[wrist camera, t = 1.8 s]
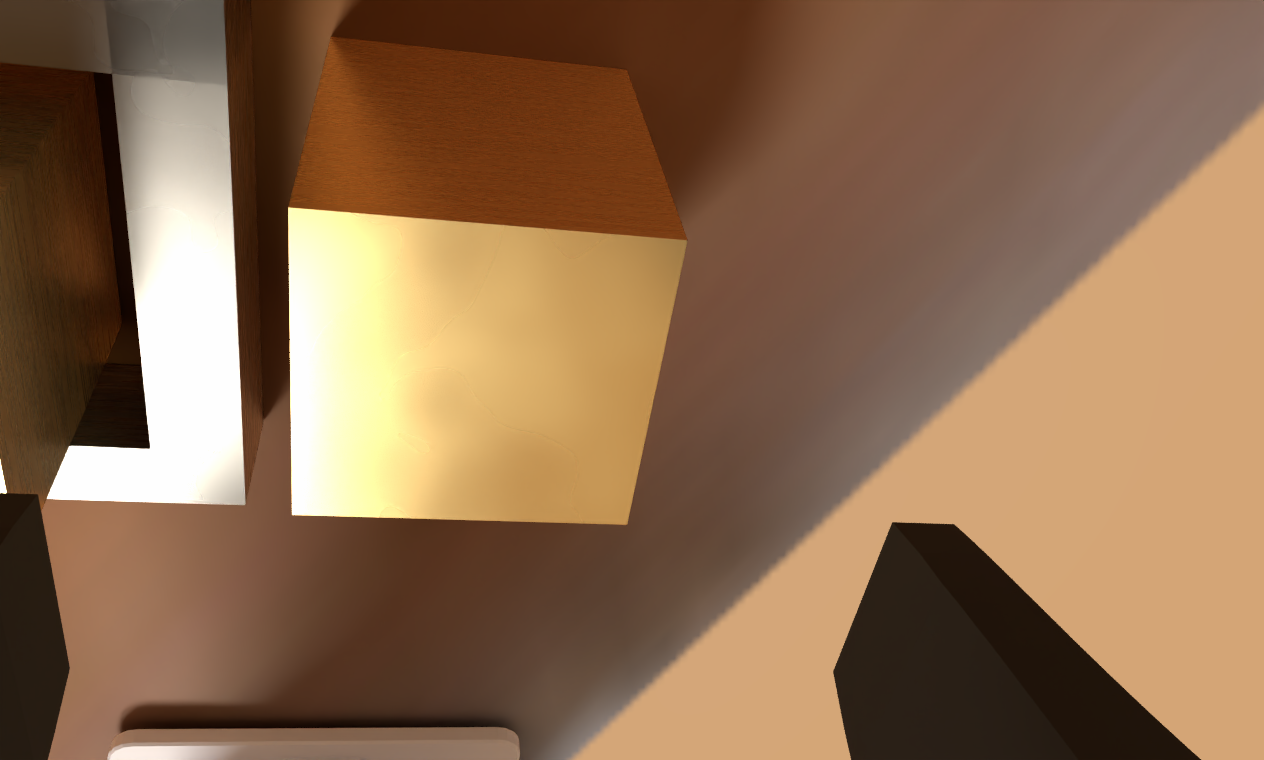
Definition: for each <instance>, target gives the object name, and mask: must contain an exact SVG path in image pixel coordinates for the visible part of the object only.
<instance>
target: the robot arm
mask: <svg viewBox="0 0 1264 760" xmlns="http://www.w3.org/2000/svg"><path fill="white" fill-rule="evenodd" d="M69 669H70V667H69V661H68V656H67V650H66V645H65V640H64V634H63V629H62V623H61V618H60V612H59V607H58V601H57V596H56V590H55V585H54V579H53V574H52V568H51V563H50V557H49V552H48V546H47V541H46V535H45V530H44V524H43V519H42V513H41V508H40V502H39V497H38V494H18V493H0V760H48V756H49V752H50V749H51V745H52V741H53V737H54V733H55V729H56V724H57V720H58V716H59V712H60V707H61V703H62V699H63V695H64V690H65V686H66V682H67V678H68V674H69ZM833 673H834V677H835V683H836V688H837V694H838V698H839V704H840V709H841V714H842V719H843V725H844V730H845V734H846V739H847V743H848V747H849V752H850V756H851V760H1201V759H1200V758H1199V757H1197V756H1196V755H1195V754H1194V753H1193V752H1192V751H1191V750H1190V749H1188V748H1187V747H1186V746H1185V745H1184V744H1183V743H1182V742H1181V741H1180V740H1179V739H1178V738H1176V737H1175V736H1174V735H1173V734H1172V733H1171V732H1170V731H1169V730H1168V729H1167V728H1165V727H1164V726H1163V725H1162V724H1161V723H1160V722H1159V721H1158V720H1157V719H1156V718H1155V717H1153V716H1152V715H1151V714H1150V713H1149V712H1148V711H1147V710H1146V709H1145V708H1144V707H1143V706H1141V704H1139V702H1138V701H1136V700H1135V699H1134V698H1133V697H1132V696H1131V695H1130V694H1129V693H1128V692H1127V691H1126V690H1125V689H1124V688H1123V687H1122V686H1121V685H1120V684H1119V683H1118V682H1116V681H1115V680H1114V679H1113V678H1112V677H1111V676H1110V675H1109V674H1108V673H1107V672H1106V671H1105V670H1104V669H1103V668H1102V667H1101V666H1100V665H1099V664H1098V663H1097V662H1096V661H1095V660H1094V659H1093V658H1092V657H1091V656H1090V655H1088V654H1087V653H1086V652H1085V651H1084V650H1083V649H1082V648H1081V647H1080V646H1079V645H1078V644H1077V643H1076V642H1075V641H1074V640H1073V639H1072V638H1071V637H1070V636H1069V635H1068V634H1067V633H1066V632H1065V631H1064V630H1063V629H1062V628H1061V627H1060V626H1059V625H1058V624H1057V623H1056V622H1055V621H1054V620H1053V619H1052V618H1051V617H1050V616H1049V615H1048V614H1047V613H1046V612H1045V611H1044V610H1043V609H1042V608H1041V607H1040V606H1039V605H1038V604H1037V603H1036V602H1035V601H1034V600H1033V599H1032V598H1031V597H1030V596H1029V595H1027V594H1026V593H1025V592H1024V591H1023V590H1022V589H1021V588H1020V587H1019V586H1018V585H1017V584H1016V583H1015V582H1014V581H1013V580H1012V579H1011V578H1010V577H1009V576H1008V575H1007V574H1006V573H1005V572H1004V571H1003V570H1002V569H1001V568H1000V567H999V566H998V565H997V564H996V563H995V562H994V561H993V560H992V559H991V558H990V557H989V556H987V554H986V553H985V552H984V551H982V550H981V549H980V548H979V547H978V546H977V545H976V544H975V543H974V542H973V541H972V540H971V539H970V538H969V537H967V536H966V535H965V534H964V533H963V532H962V531H961V530H960V529H959V528H958V527H956V526H955V525H954V524H926V523H925V524H924V523H897V522H893V523H892V525H891V527H890V530H889V532H888V535H887V537H886V540H885V542H884V545H883V547H882V550H881V552H880V555H879V557H878V560H877V562H876V565H875V568H874V570H873V573H872V575H871V578H870V580H869V583H868V585H867V588H866V590H865V593H864V596H863V598H862V600H861V603H860V605H859V608H858V611H857V613H856V616H855V618H854V621H853V623H852V626H851V628H850V631H849V633H848V636H847V638H846V641H845V643H844V646H843V648H842V651H841V653H840V656H839V658H838V661H837V663H836V666H835V669H834V671H833ZM519 758H520V746H519V737H518V736H517V735H516V734H515V732H513V731H511V730H509V729H507V728H501V727H412V728H243V729H134V730H127V731H125V732H122V733H120V734H118V735H117V736H116V737H115V738H114V739H113V740H112V743H111V746H110V750H109V754H108V760H519Z"/></svg>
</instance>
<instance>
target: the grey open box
mask: <svg viewBox="0 0 1264 760" xmlns="http://www.w3.org/2000/svg"><path fill="white" fill-rule="evenodd" d="M94 72H99V73H109V74H112V79H113V89H114V99H115V108H116V118H117V128H118V137H119V147H120V157H121V167H122V176H123V186H124V196H125V206H126V215H127V225H128V235H129V244H130V254H131V264H132V274H133V283H134V293H135V303H136V312H137V322H138V332H139V342H140V351H141V361H142V366H131V365H113V364H105V363H106V360H107V358H108V356H109V353H110V351H111V349H112V346H113V344H114V342H115V339H116V337H117V335H118V332H119V330H120V328H121V325H122V321H121V312H120V303H119V294H118V285H117V276H116V267H115V258H114V249H113V240H112V231H111V223H110V214H109V205H108V196H107V187H106V178H105V169H104V160H103V151H102V142H101V134H100V125H99V116H98V107H97V98H96V89H95V80H94ZM262 427H263V395H262V361H261V328H260V294H259V260H258V227H257V193H256V160H255V126H254V92H253V59H252V25H251V0H0V493H18V494H38V497H39V502H40V508H41V511H42V509H43V506H44V504H45V502H46V499H70V500H101V501H133V502H164V503H195V504H226V505H246V500H247V496H248V491H249V486H250V482H251V477H252V473H253V468H254V463H255V459H256V454H257V450H258V445H259V440H260V436H261V431H262Z"/></svg>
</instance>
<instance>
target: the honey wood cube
mask: <svg viewBox="0 0 1264 760" xmlns="http://www.w3.org/2000/svg"><path fill="white" fill-rule="evenodd" d="M288 225H289V303H290V381H291V459H292V515H315V516H349V517H383V518H417V519H451V520H484V521H518V522H552V523H586V524H620V525H627V523H628V518H629V513H630V509H631V504H632V499H633V494H634V490H635V485H636V480H637V476H638V471H639V466H640V462H641V457H642V452H643V447H644V443H645V438H646V433H647V429H648V424H649V419H650V415H651V410H652V405H653V400H654V396H655V391H656V386H657V382H658V377H659V372H660V368H661V363H662V358H663V353H664V349H665V344H666V339H667V335H668V330H669V325H670V321H671V316H672V311H673V306H674V302H675V297H676V292H677V288H678V283H679V278H680V274H681V269H682V264H683V259H684V255H685V250H686V245H687V241H688V240H687V237H686V235H685V232H684V229H683V226H682V223H681V221H680V218H679V215H678V212H677V209H676V207H675V204H674V201H673V198H672V195H671V193H670V190H669V187H668V184H667V181H666V179H665V176H664V173H663V170H662V167H661V165H660V162H659V159H658V156H657V153H656V151H655V148H654V145H653V142H652V139H651V137H650V134H649V131H648V128H647V125H646V123H645V120H644V117H643V114H642V111H641V109H640V106H639V103H638V100H637V97H636V95H635V92H634V89H633V86H632V83H631V81H630V78H629V75H628V72H627V70H624V69H616V68H607V67H598V66H589V65H580V64H571V63H562V62H553V61H545V60H536V59H527V58H518V57H509V56H500V55H491V54H482V53H473V52H465V51H456V50H447V49H438V48H429V47H420V46H411V45H402V44H394V43H385V42H376V41H367V40H358V39H349V38H340V37H331V38H330V42H329V46H328V50H327V54H326V58H325V62H324V66H323V70H322V74H321V78H320V82H319V86H318V90H317V94H316V98H315V102H314V106H313V110H312V115H311V119H310V123H309V127H308V131H307V135H306V139H305V143H304V147H303V151H302V155H301V159H300V163H299V167H298V171H297V175H296V179H295V183H294V187H293V191H292V195H291V199H290V203H289V207H288Z"/></svg>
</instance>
